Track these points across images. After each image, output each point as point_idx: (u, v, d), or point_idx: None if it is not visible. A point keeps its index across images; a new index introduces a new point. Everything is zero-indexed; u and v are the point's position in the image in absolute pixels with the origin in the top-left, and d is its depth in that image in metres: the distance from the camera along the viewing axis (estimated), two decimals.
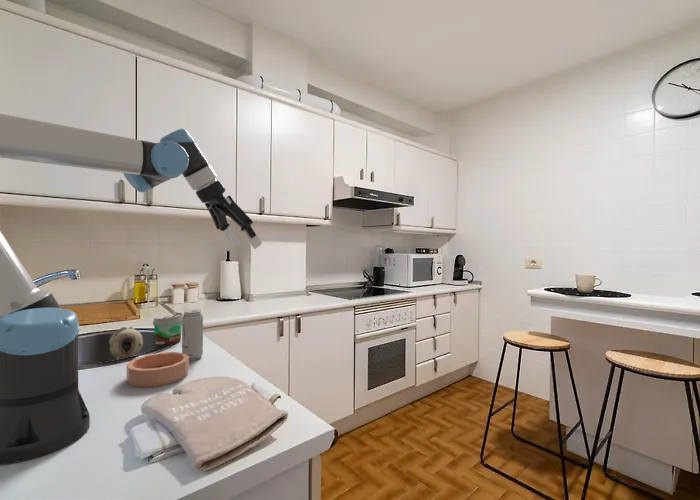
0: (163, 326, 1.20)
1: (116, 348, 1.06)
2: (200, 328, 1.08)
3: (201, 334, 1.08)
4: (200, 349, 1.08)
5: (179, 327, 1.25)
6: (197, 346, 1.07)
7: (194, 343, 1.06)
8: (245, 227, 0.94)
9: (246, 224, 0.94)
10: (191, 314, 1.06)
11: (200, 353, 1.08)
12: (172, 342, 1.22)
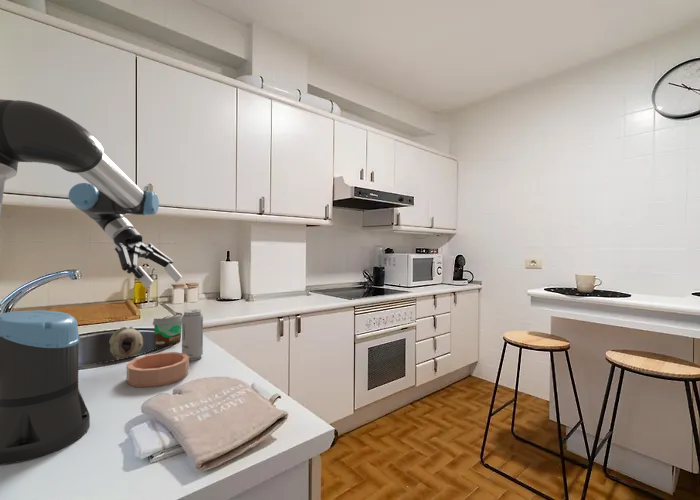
0: (163, 326, 1.20)
1: (116, 348, 1.06)
2: (200, 328, 1.08)
3: (201, 334, 1.08)
4: (200, 349, 1.08)
5: (179, 327, 1.25)
6: (197, 346, 1.07)
7: (194, 343, 1.06)
8: (172, 261, 1.20)
9: None
10: (191, 314, 1.06)
11: (200, 353, 1.08)
12: (172, 342, 1.22)
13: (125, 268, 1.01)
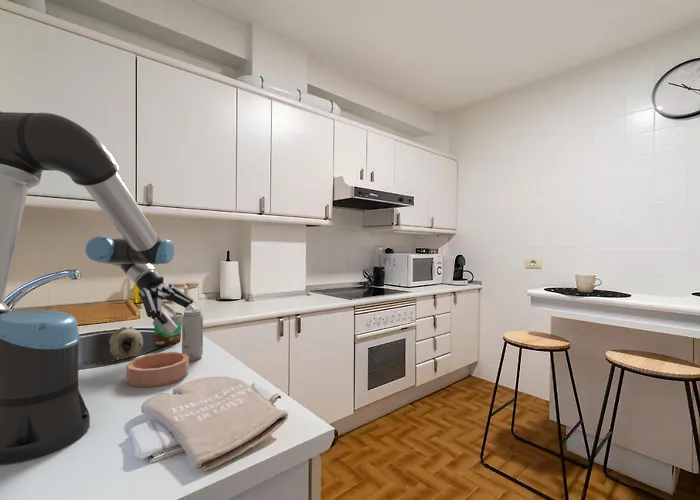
0: (163, 326, 1.20)
1: (116, 348, 1.06)
2: (200, 328, 1.08)
3: (201, 334, 1.08)
4: (200, 349, 1.08)
5: (179, 327, 1.25)
6: (197, 346, 1.07)
7: (194, 343, 1.06)
8: (192, 301, 1.20)
9: None
10: (191, 314, 1.06)
11: (200, 353, 1.08)
12: (172, 342, 1.22)
13: (150, 315, 1.01)
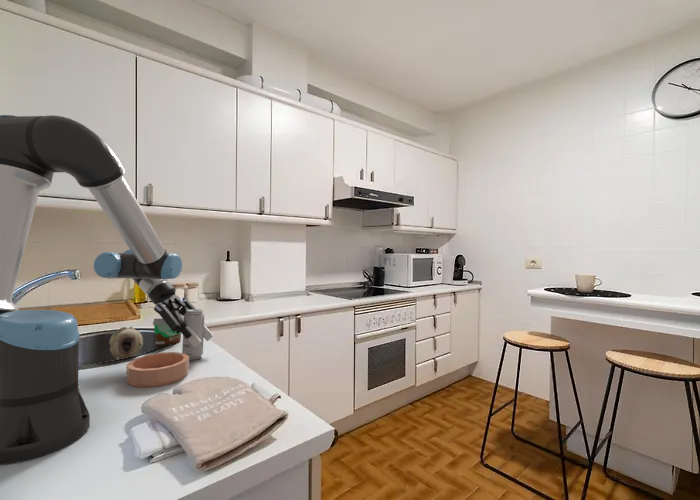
0: (163, 326, 1.20)
1: (116, 348, 1.06)
2: (201, 327, 1.08)
3: (202, 333, 1.09)
4: (200, 348, 1.08)
5: None
6: (197, 346, 1.07)
7: None
8: None
9: None
10: (193, 313, 1.07)
11: (200, 353, 1.08)
12: (172, 342, 1.22)
13: (175, 329, 1.03)
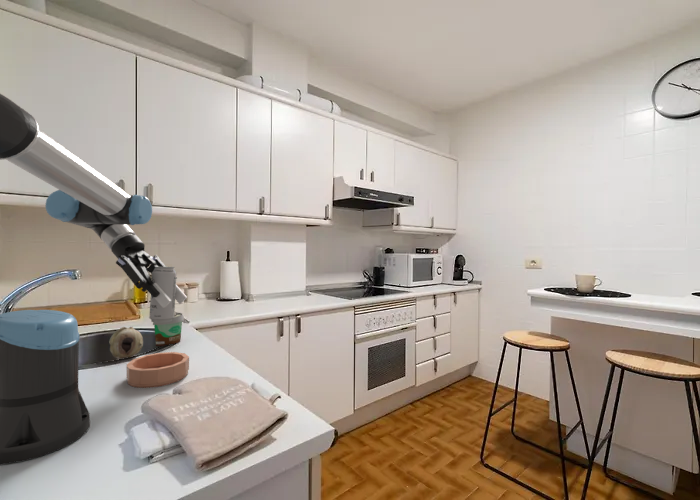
0: (163, 326, 1.20)
1: (116, 348, 1.06)
2: (172, 286, 0.94)
3: (173, 294, 0.94)
4: (171, 311, 0.94)
5: (179, 327, 1.25)
6: (167, 307, 0.93)
7: None
8: None
9: None
10: (162, 269, 0.93)
11: (170, 315, 0.94)
12: (172, 342, 1.22)
13: (139, 286, 0.88)
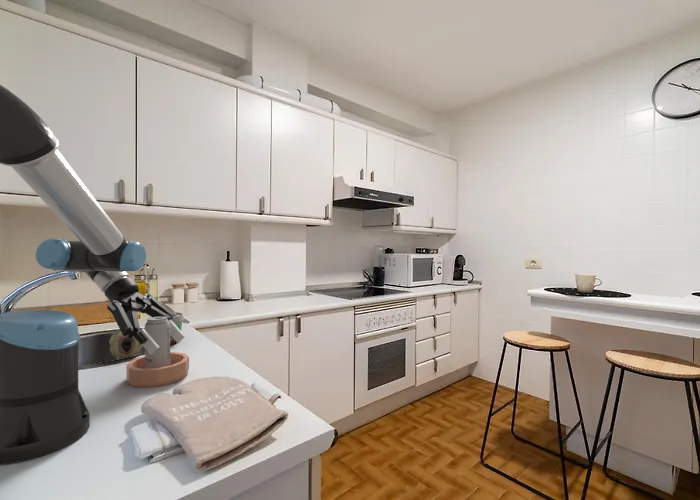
0: None
1: (116, 348, 1.06)
2: (166, 338, 0.92)
3: (167, 345, 0.93)
4: (166, 362, 0.92)
5: (179, 327, 1.25)
6: (162, 360, 0.91)
7: (159, 356, 0.91)
8: (173, 316, 1.01)
9: None
10: (154, 322, 0.91)
11: None
12: (172, 342, 1.22)
13: (126, 333, 0.85)
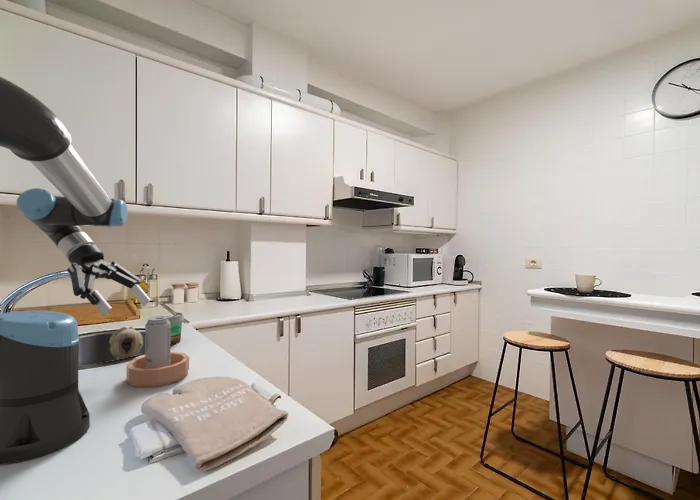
0: None
1: (116, 348, 1.06)
2: (166, 338, 0.92)
3: (168, 345, 0.93)
4: (166, 363, 0.92)
5: (179, 327, 1.25)
6: (162, 360, 0.91)
7: (159, 356, 0.91)
8: (140, 281, 1.04)
9: None
10: (155, 322, 0.91)
11: None
12: (172, 342, 1.22)
13: (77, 293, 0.85)
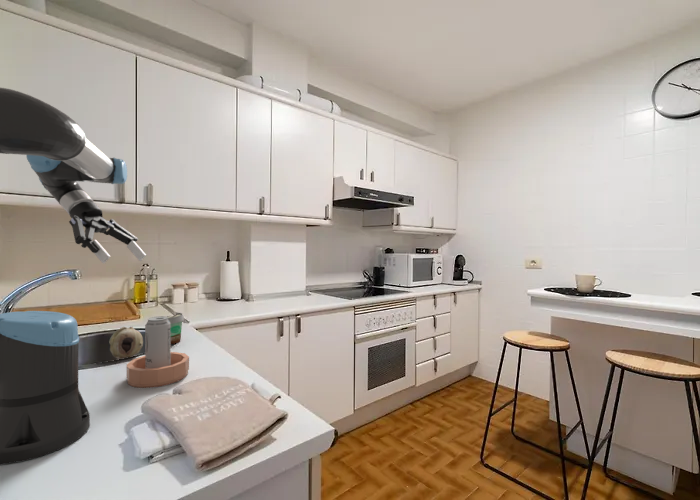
0: None
1: (116, 348, 1.06)
2: (166, 338, 0.92)
3: (168, 345, 0.93)
4: (166, 363, 0.92)
5: (179, 327, 1.25)
6: (162, 360, 0.91)
7: (159, 356, 0.91)
8: (136, 239, 1.12)
9: None
10: (155, 322, 0.91)
11: None
12: (172, 342, 1.22)
13: (78, 241, 0.93)
